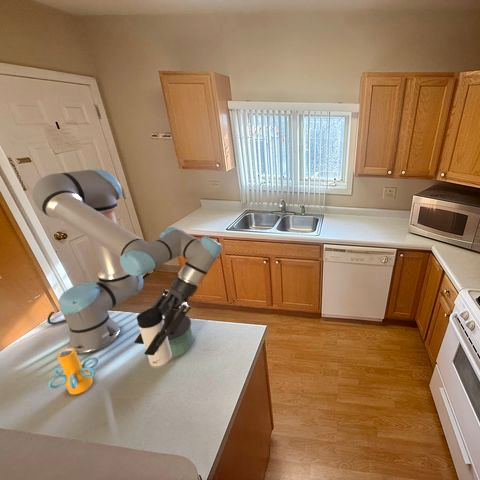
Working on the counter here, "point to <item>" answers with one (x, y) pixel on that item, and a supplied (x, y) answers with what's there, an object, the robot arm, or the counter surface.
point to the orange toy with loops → (73, 372)
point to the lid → (180, 326)
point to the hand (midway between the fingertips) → (143, 348)
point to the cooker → (181, 343)
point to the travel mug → (149, 328)
